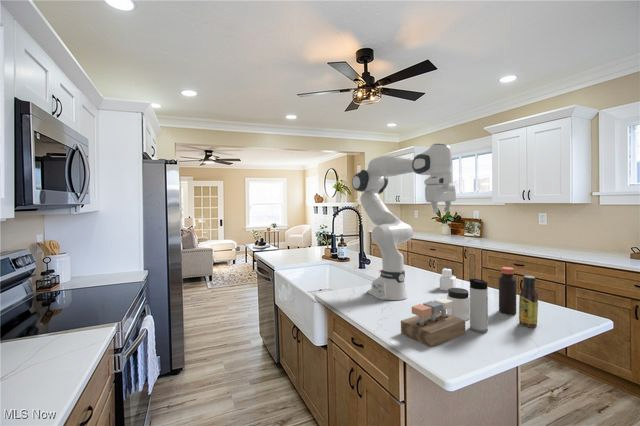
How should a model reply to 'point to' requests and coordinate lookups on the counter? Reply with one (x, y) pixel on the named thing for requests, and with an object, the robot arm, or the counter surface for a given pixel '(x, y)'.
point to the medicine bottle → (447, 279)
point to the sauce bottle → (528, 303)
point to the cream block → (444, 305)
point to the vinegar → (507, 291)
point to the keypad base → (433, 329)
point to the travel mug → (478, 305)
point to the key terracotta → (421, 312)
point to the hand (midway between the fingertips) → (441, 212)
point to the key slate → (434, 308)
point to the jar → (459, 303)
